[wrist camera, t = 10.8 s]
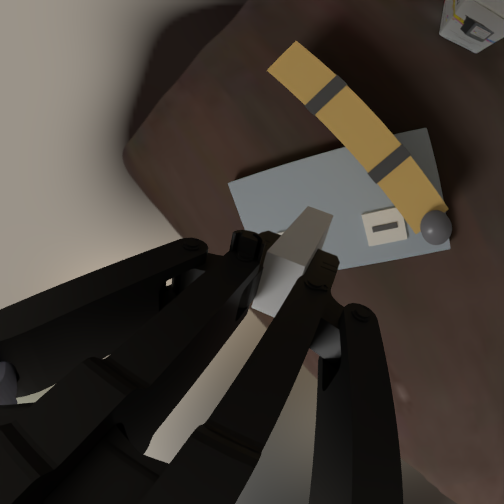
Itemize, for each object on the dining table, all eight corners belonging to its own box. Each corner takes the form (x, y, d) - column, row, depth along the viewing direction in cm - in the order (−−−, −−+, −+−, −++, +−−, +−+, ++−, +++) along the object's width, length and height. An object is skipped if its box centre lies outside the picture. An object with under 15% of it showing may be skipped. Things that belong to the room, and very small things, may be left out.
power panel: (424, 127, 25) (427, 127, 23) (447, 243, 29) (450, 250, 27) (233, 180, 36) (226, 184, 34) (268, 276, 39) (262, 283, 38)
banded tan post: (451, 214, 25) (462, 228, 21) (421, 237, 28) (427, 255, 24) (306, 49, 25) (294, 37, 21) (278, 76, 27) (263, 69, 23)
